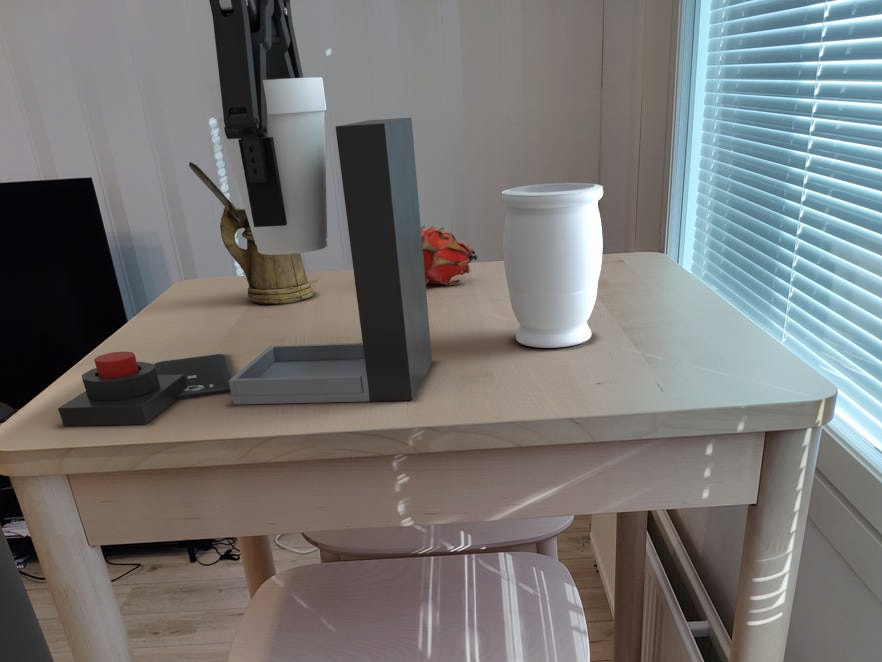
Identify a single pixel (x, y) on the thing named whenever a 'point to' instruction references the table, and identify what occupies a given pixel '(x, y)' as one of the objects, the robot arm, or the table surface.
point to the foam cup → (289, 163)
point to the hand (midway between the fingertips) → (287, 217)
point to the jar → (553, 260)
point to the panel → (122, 398)
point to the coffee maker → (364, 287)
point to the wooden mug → (259, 258)
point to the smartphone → (199, 374)
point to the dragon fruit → (444, 256)
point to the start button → (116, 364)
